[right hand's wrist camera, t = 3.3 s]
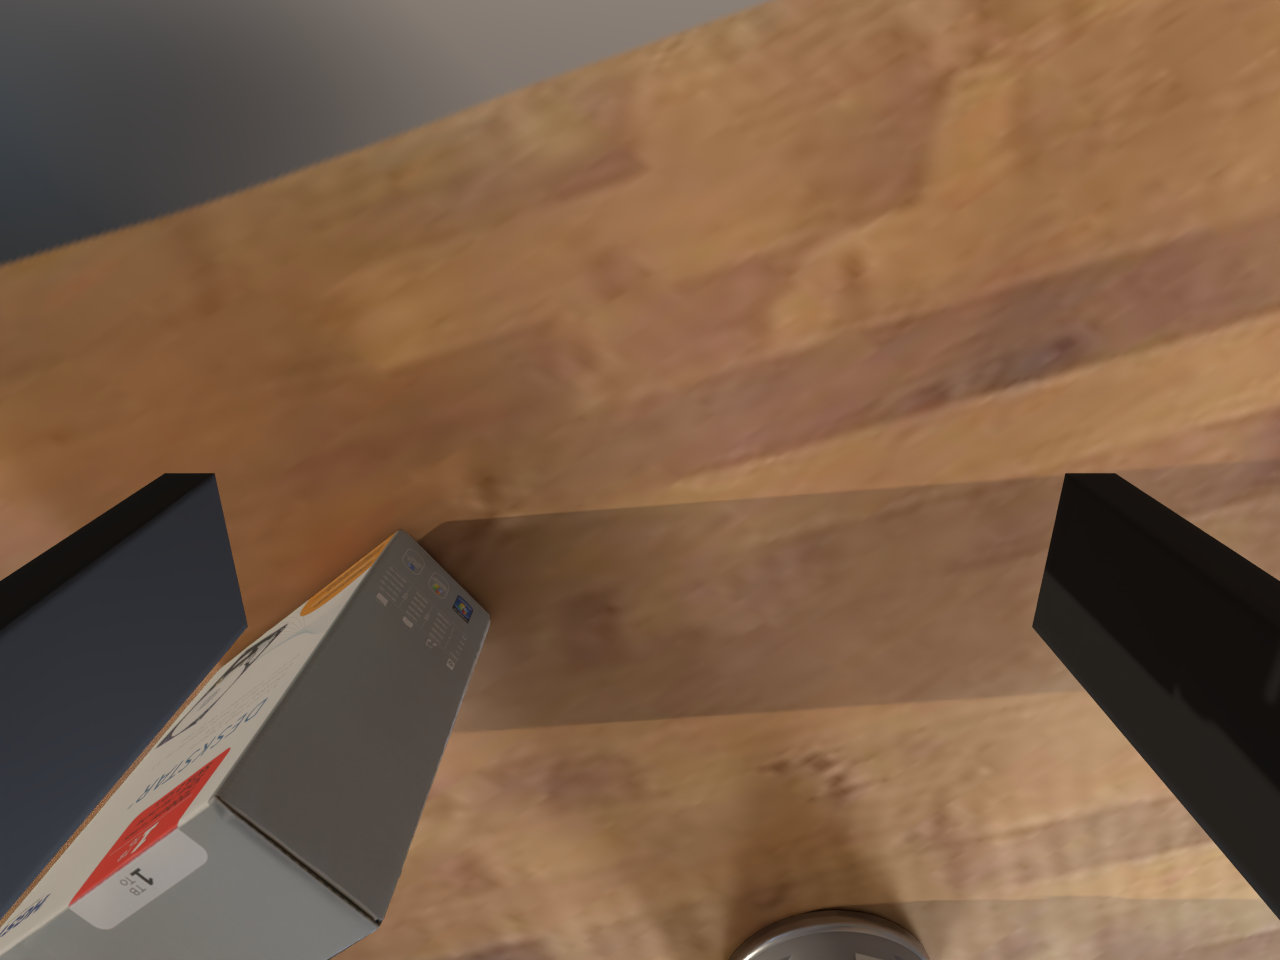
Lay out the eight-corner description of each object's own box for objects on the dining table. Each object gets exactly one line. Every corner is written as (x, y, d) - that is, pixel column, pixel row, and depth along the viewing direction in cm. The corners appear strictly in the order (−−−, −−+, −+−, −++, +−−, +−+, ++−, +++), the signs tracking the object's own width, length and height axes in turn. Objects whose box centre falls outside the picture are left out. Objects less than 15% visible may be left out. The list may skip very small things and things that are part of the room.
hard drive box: (401, 520, 43) (221, 792, 24) (496, 616, 45) (397, 931, 27) (213, 669, 46) (-70, 1004, 28) (309, 750, 49) (107, 1110, 30)
